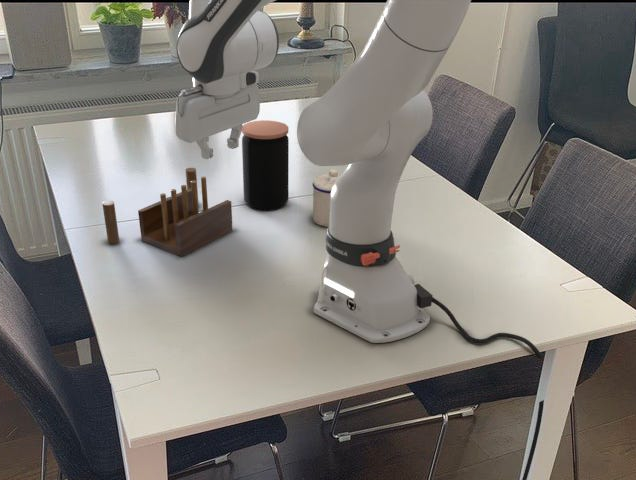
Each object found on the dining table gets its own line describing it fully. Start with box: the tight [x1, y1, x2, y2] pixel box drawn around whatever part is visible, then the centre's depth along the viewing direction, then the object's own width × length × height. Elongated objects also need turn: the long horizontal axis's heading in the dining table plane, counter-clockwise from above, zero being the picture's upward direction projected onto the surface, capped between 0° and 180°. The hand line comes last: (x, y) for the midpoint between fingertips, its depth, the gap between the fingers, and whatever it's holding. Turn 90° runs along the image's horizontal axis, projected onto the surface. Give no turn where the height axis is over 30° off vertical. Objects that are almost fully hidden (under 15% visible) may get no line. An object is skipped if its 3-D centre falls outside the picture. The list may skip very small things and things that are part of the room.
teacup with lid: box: [312, 169, 342, 228], centre depth 171 cm, size 12×9×12 cm
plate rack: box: [137, 176, 233, 257], centre depth 163 cm, size 12×16×12 cm
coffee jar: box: [241, 119, 290, 211], centre depth 176 cm, size 11×11×18 cm
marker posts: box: [101, 167, 200, 246], centre depth 168 cm, size 2×27×9 cm, turn 143°
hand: (220, 152), depth 148 cm, fingers open, 6 cm apart
